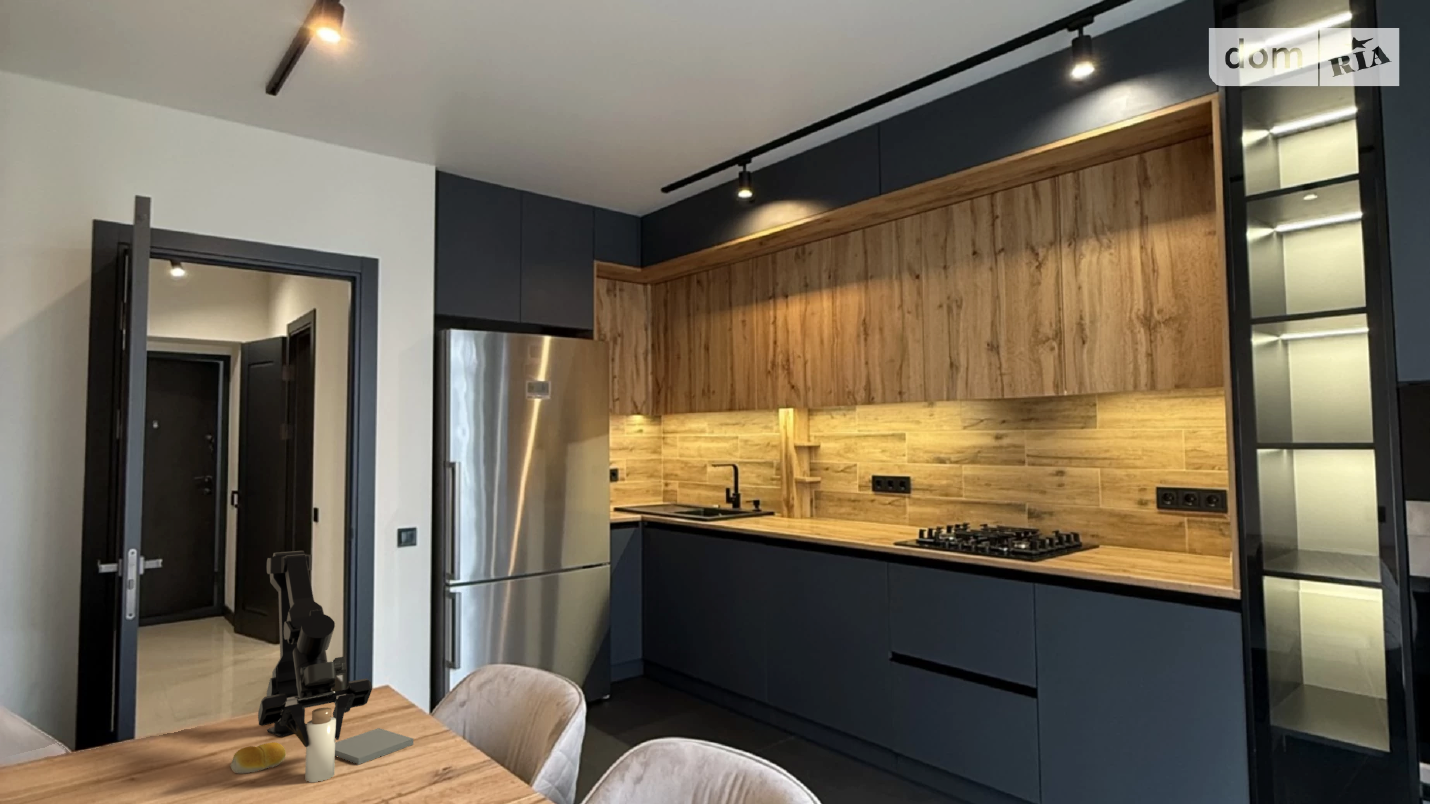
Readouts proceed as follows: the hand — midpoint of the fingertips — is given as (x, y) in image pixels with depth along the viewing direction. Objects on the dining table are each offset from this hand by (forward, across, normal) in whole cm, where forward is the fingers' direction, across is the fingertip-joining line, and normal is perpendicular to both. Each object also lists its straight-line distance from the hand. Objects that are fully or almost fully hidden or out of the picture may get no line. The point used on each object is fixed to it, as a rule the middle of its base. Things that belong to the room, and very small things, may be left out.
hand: (322, 742), depth 137 cm
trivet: (-2, +11, +12) cm, 16 cm away
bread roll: (-6, -8, +16) cm, 19 cm away
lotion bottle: (+4, 0, +6) cm, 7 cm away
